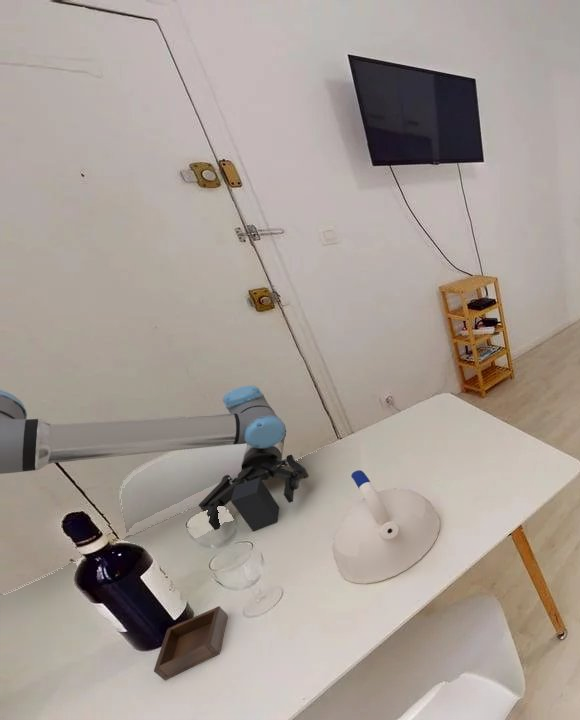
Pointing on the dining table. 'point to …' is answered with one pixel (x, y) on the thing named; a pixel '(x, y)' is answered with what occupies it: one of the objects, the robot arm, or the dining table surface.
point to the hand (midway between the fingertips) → (252, 511)
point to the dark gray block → (255, 504)
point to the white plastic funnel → (383, 533)
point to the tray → (191, 643)
